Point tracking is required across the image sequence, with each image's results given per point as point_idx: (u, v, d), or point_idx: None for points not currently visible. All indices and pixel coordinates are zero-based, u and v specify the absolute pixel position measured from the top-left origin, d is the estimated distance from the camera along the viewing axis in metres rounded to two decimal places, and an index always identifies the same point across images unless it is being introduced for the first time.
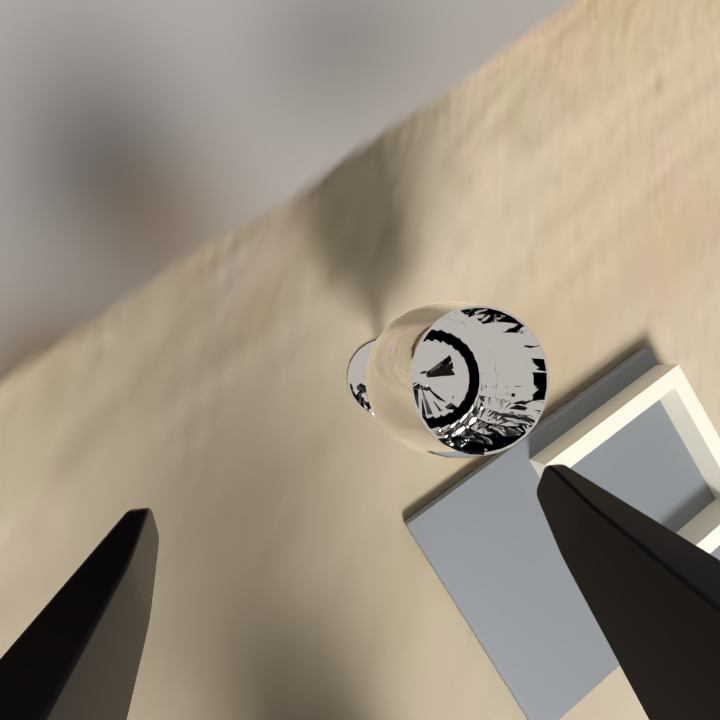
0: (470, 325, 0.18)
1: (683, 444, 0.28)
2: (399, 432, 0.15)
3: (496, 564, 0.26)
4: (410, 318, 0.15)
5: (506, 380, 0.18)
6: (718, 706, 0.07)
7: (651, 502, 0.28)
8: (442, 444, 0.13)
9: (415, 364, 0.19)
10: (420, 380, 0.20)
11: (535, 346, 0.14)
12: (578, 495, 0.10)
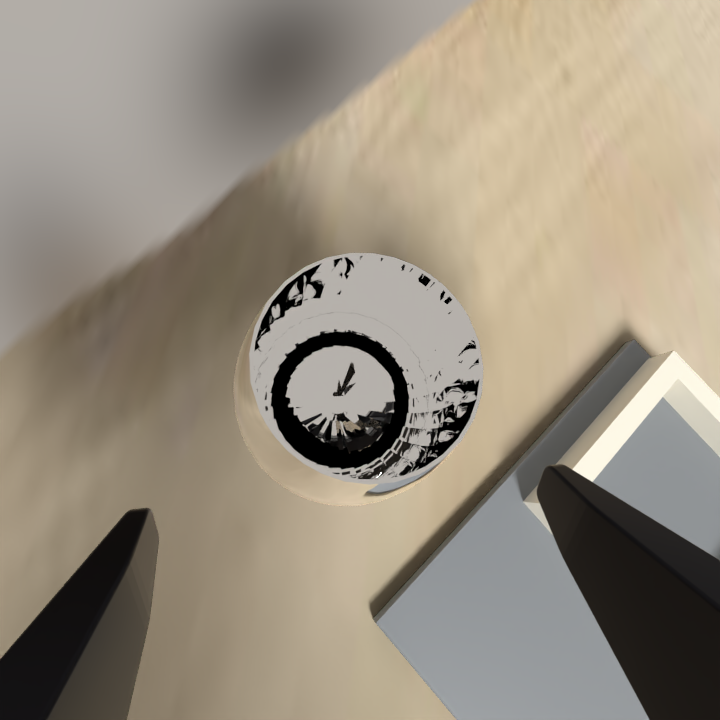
0: (382, 318, 0.13)
1: (710, 449, 0.23)
2: (276, 475, 0.10)
3: (511, 658, 0.18)
4: None
5: (442, 382, 0.12)
6: (718, 706, 0.07)
7: (694, 532, 0.21)
8: (322, 476, 0.08)
9: (326, 388, 0.14)
10: (337, 409, 0.14)
11: (450, 305, 0.10)
12: (578, 495, 0.10)
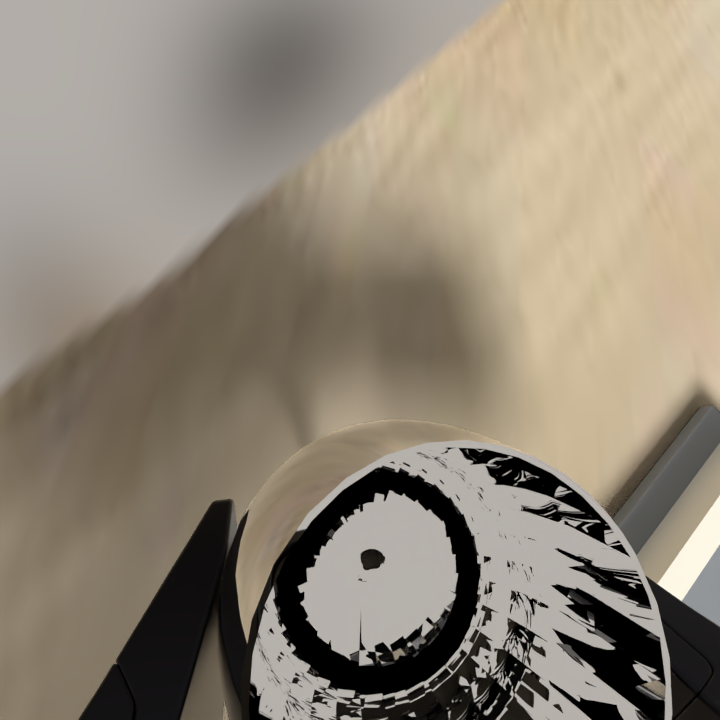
0: (436, 448, 0.09)
1: None
2: None
3: None
4: (275, 488, 0.06)
5: (531, 556, 0.08)
6: None
7: None
8: None
9: (352, 532, 0.10)
10: (368, 561, 0.10)
11: (592, 517, 0.06)
12: None
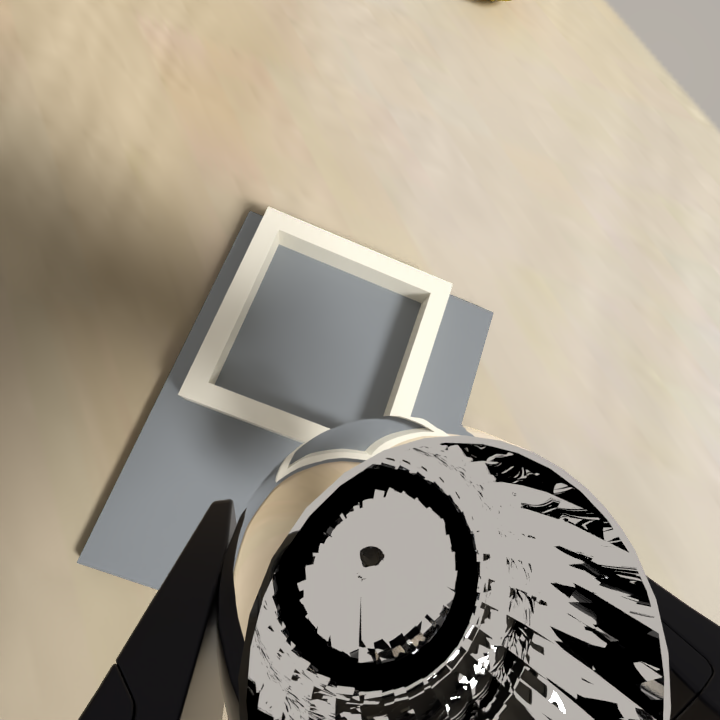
0: (435, 446, 0.09)
1: (351, 275, 0.25)
2: None
3: None
4: (274, 484, 0.06)
5: (530, 553, 0.08)
6: None
7: (354, 350, 0.24)
8: None
9: (352, 530, 0.10)
10: (367, 559, 0.10)
11: (592, 513, 0.06)
12: None
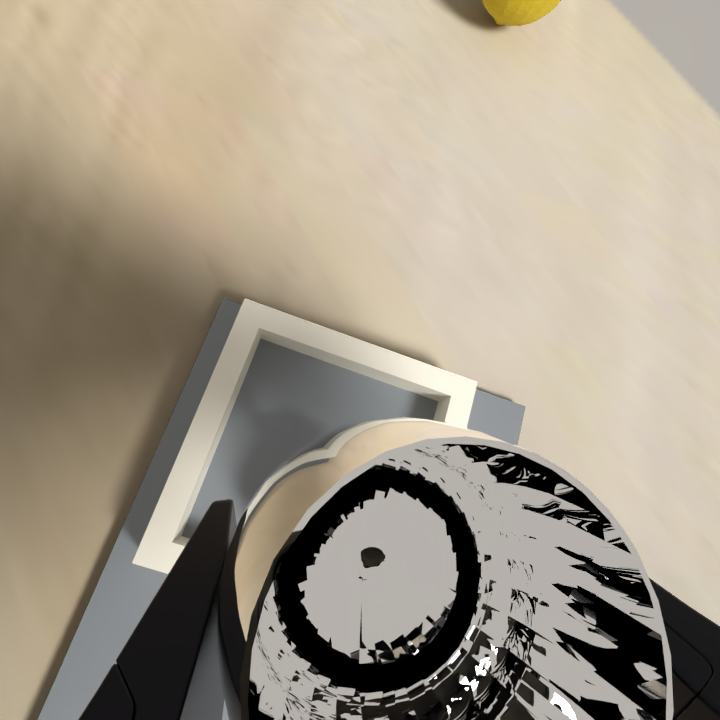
0: (436, 446, 0.09)
1: (351, 372, 0.20)
2: None
3: None
4: (275, 485, 0.06)
5: (531, 555, 0.08)
6: None
7: None
8: None
9: (352, 530, 0.10)
10: (368, 559, 0.10)
11: (594, 515, 0.05)
12: None
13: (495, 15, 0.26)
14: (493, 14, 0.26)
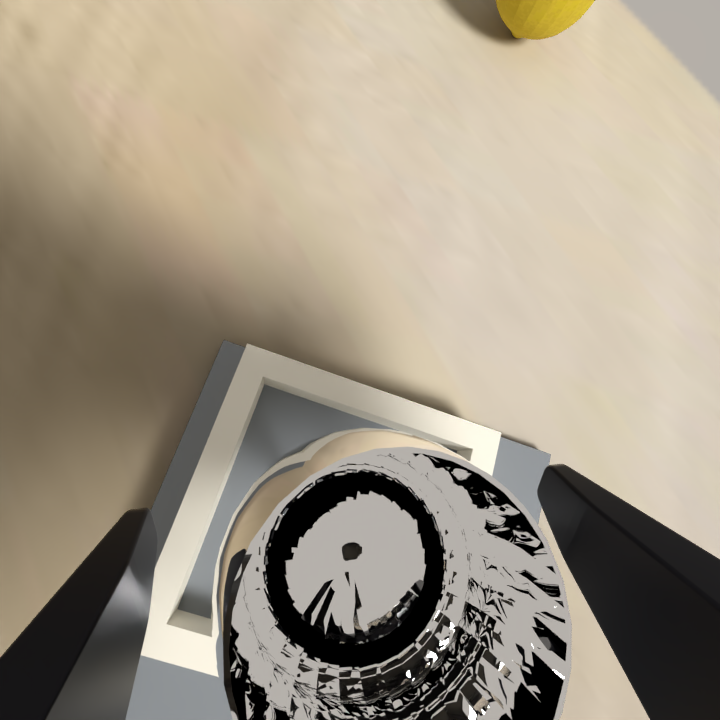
0: (409, 453, 0.10)
1: (362, 420, 0.18)
2: None
3: None
4: (259, 485, 0.07)
5: (488, 549, 0.10)
6: (719, 706, 0.07)
7: None
8: None
9: (337, 528, 0.11)
10: (350, 554, 0.12)
11: (517, 511, 0.07)
12: (579, 495, 0.10)
13: (513, 28, 0.24)
14: (511, 27, 0.24)
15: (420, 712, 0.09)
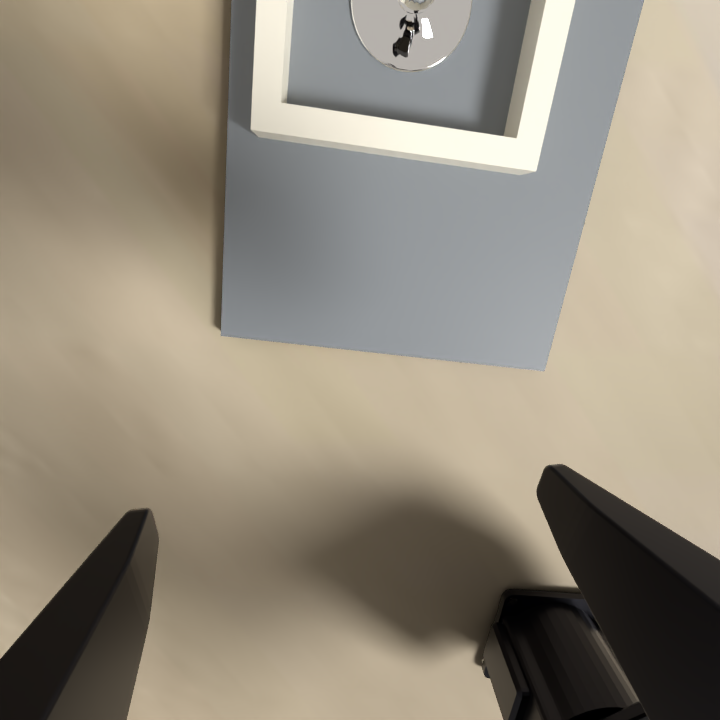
0: None
1: None
2: None
3: (341, 277, 0.19)
4: None
5: None
6: (718, 706, 0.07)
7: None
8: None
9: None
10: None
11: None
12: (578, 495, 0.10)
13: None
14: None
15: None
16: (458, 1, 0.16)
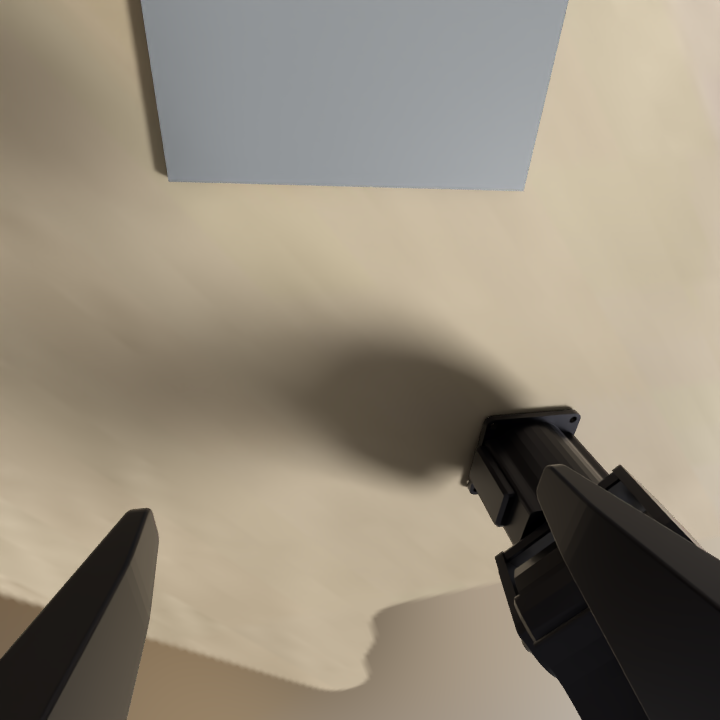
0: None
1: None
2: None
3: (299, 93, 0.16)
4: None
5: None
6: (718, 706, 0.07)
7: None
8: None
9: None
10: None
11: None
12: (578, 495, 0.10)
13: None
14: None
15: None
16: None
